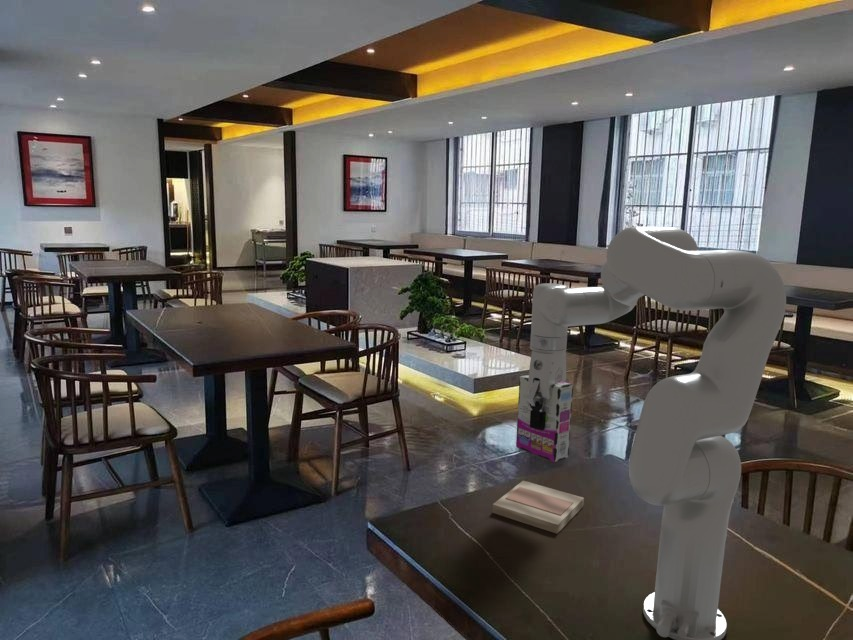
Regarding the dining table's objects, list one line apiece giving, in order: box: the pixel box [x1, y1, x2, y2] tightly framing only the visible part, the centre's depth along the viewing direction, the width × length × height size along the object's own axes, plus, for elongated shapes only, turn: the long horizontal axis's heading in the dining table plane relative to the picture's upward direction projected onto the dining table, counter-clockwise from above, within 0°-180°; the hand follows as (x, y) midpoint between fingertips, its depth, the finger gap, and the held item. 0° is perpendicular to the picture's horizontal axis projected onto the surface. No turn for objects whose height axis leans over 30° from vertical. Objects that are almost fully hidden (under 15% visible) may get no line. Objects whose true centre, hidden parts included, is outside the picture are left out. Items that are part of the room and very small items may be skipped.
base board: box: [492, 480, 585, 535], centre depth 139 cm, size 15×15×2 cm
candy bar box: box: [515, 373, 574, 463], centre depth 135 cm, size 11×5×16 cm, turn 40°
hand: (543, 423), depth 135 cm, fingers closed on candy bar box, 5 cm apart
